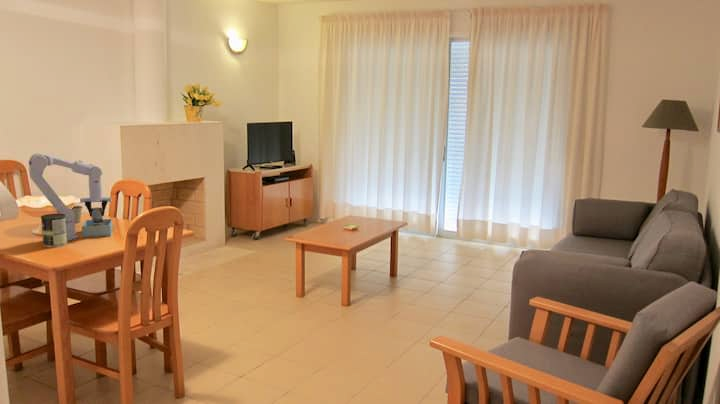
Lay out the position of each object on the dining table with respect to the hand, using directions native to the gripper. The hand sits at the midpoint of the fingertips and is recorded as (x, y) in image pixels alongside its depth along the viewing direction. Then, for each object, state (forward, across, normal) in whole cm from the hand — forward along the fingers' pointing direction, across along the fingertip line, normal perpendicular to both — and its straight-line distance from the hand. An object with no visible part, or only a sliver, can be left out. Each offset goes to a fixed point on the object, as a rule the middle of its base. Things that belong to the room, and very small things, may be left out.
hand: (97, 215), depth 295 cm
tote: (+10, -1, +4) cm, 11 cm away
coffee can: (+10, -17, -17) cm, 26 cm away
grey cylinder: (+3, 0, -1) cm, 3 cm away
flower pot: (+10, -16, +35) cm, 40 cm away
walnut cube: (+9, 0, 0) cm, 9 cm away
